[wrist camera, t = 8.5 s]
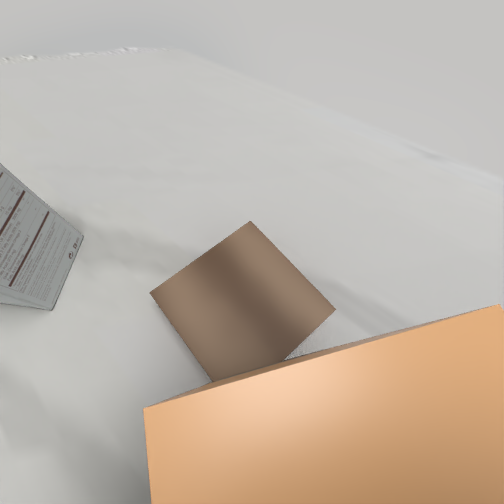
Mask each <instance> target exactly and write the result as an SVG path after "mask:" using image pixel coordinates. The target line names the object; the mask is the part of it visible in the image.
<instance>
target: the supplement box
mask: <svg viewBox="0 0 504 504" xmlns="http://www.w3.org/2000/svg"><path fill="white" fill-rule="evenodd" d="M82 239H83V235H82V234H81V233H79V232H78V231H77V230H76V229H75V228H74V227H72V226H71V225H70V224H69V223H68V222H67V221H65V220H64V219H63V218H62V217H61V216H60V215H59V214H57V213H56V212H55V211H54V210H53V209H52V208H51V207H50V206H48V205H47V204H46V203H45V202H44V201H43V200H41V199H40V198H39V197H38V196H37V195H36V194H35V193H34V192H32V191H31V190H30V189H29V188H28V187H27V186H25V185H24V184H23V183H22V182H21V181H20V180H19V179H18V178H16V177H15V176H14V175H13V174H12V173H11V172H10V171H8V170H7V169H6V168H5V167H4V166H3V165H2V164H1V163H0V303H4V304H12V305H19V306H27V307H34V308H40V309H46V310H52V308H53V306H54V305H55V302H56V300H57V298H58V296H59V293H60V291H61V289H62V286H63V284H64V282H65V279H66V277H67V275H68V272H69V270H70V268H71V265H72V263H73V261H74V258H75V256H76V254H77V251H78V249H79V246H80V244H81V242H82Z"/></svg>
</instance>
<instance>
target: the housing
mask: <svg viewBox="0 0 504 504" xmlns="http://www.w3.org/2000/svg"><path fill="white" fill-rule="evenodd" d="M143 412H144V423H145V435H146V446H147V458H148V469H149V481H150V492H151V504H504V311H503V309H502V307H501V306H500V304H498V305H494V306H490V307H486V308H482V309H478V310H475V311H471V312H467V313H463V314H459V315H455V316H452V317H448V318H444V319H440V320H436V321H432V322H428V323H425V324H421V325H417V326H413V327H409V328H405V329H402V330H398V331H394V332H390V333H386V334H382V335H379V336H375V337H371V338H367V339H363V340H359V341H356V342H352V343H348V344H344V345H340V346H336V347H333V348H329V349H325V350H321V351H317V352H313V353H310V354H306V355H302V356H298V357H295V358H291V359H288V360H284V361H281V362H278V363H274V364H271V365H267V366H264V367H260V368H257V369H253V370H250V371H246V372H243V373H240V374H236V375H233V376H229V377H226V378H222V379H220V380H217V381H214V382H212V383H209V384H206V385H204V386H201V387H199V388H196V389H193V390H191V391H188V392H185V393H183V394H180V395H177V396H175V397H172V398H170V399H167V400H164V401H162V402H159V403H156V404H154V405H151V406H149V407H146V408H143Z"/></svg>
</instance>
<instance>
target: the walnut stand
mask: <svg viewBox="0 0 504 504" xmlns="http://www.w3.org/2000/svg"><path fill="white" fill-rule="evenodd" d="M150 294H151V296H152V297H153V298H154V300H155V301H156V303H157V304H158V305H159V307H160V308H161V310H162V311H163V312H164V314H165V315H166V317H167V318H168V319H169V321H170V322H171V324H172V325H173V326H174V328H175V329H176V331H177V332H178V333H179V335H180V336H181V338H182V339H183V340H184V342H185V343H186V345H187V346H188V347H189V349H190V350H191V352H192V353H193V355H194V356H195V357H196V359H197V360H198V362H199V363H200V364H201V366H202V367H203V369H204V370H205V371H206V373H207V374H208V376H209V377H210V378H211V380H212V381H213V382H214V381H217V380H220V379H222V378H226V377H229V376H233V375H236V374H240V373H243V372H246V371H250V370H253V369H257V368H260V367H264V366H267V365H271V364H274V363H278V362H281V361H283V360H284V359H285V358H286V357H287V356H288V355H289V354H290V353H291V352H292V351H293V350H294V349H295V348H296V347H297V346H298V345H299V344H301V343H302V342H303V341H304V340H305V339H306V338H307V337H308V336H309V335H310V334H311V333H312V332H313V331H314V330H315V329H316V328H317V327H318V326H319V325H320V324H321V323H322V322H323V321H324V320H326V319H327V318H328V317H329V316H330V315H331V314H332V313H333V312H334V311H335V310H336V309H335V308H334V307H333V306H332V305H331V304H330V303H329V301H328V300H327V299H326V298H325V297H324V296H323V295H322V294H321V293H320V292H319V291H318V290H317V289H316V288H315V287H314V286H313V285H312V284H311V283H310V282H309V281H308V280H307V279H306V278H305V277H304V276H303V275H302V273H301V272H300V271H299V270H298V269H297V268H296V267H295V266H294V265H293V264H292V263H291V262H290V261H289V260H288V259H287V258H286V257H285V256H284V255H283V254H282V253H281V252H280V251H279V250H278V249H277V248H276V247H275V245H274V244H273V243H272V242H271V241H270V240H269V239H268V238H267V237H266V236H265V235H264V234H263V233H262V232H261V231H260V230H259V229H258V228H257V227H256V226H255V225H254V224H253V223H252V222H251V221H249V222H248V223H247V224H245V225H244V226H242V227H241V228H239V229H238V230H237V231H235V232H234V233H232V234H231V235H230V236H228V237H227V238H225V239H224V240H223V241H221V242H220V243H218V244H217V245H216V246H214V247H213V248H211V249H210V250H209V251H207V252H206V253H204V254H203V255H202V256H200V257H199V258H197V259H196V260H195V261H193V262H192V263H190V264H189V265H188V266H186V267H185V268H183V269H182V270H181V271H179V272H178V273H176V274H175V275H174V276H172V277H171V278H169V279H168V280H167V281H165V282H164V283H162V284H161V285H160V286H158V287H157V288H155V289H154V290H152V291H151V292H150Z"/></svg>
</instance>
